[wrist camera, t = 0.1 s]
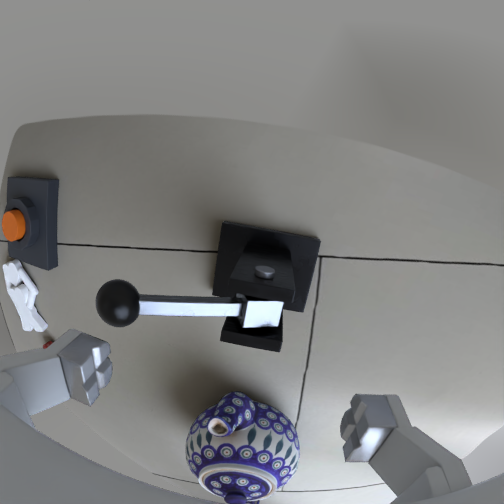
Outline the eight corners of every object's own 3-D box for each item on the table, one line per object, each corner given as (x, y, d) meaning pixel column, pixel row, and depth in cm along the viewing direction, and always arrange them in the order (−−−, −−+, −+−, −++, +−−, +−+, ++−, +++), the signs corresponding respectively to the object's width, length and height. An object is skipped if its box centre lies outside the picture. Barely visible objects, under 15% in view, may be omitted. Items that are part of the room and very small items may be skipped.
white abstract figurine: (26, 256, 34) (17, 261, 32) (55, 324, 38) (48, 331, 36) (0, 263, 35) (-8, 268, 33) (27, 324, 39) (20, 330, 37)
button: (10, 207, 29) (1, 209, 27) (26, 211, 28) (17, 213, 27) (11, 236, 30) (2, 238, 28) (26, 240, 29) (17, 243, 28)
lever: (100, 311, 19) (94, 334, 16) (98, 270, 18) (90, 290, 15) (263, 314, 24) (279, 335, 21) (270, 278, 23) (288, 296, 20)
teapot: (298, 463, 39) (297, 533, 25) (213, 461, 41) (196, 527, 27) (298, 352, 33) (303, 449, 19) (179, 354, 35) (135, 436, 21)
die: (58, 356, 39) (48, 365, 36) (47, 341, 38) (37, 350, 35) (65, 350, 38) (55, 359, 35) (53, 335, 37) (43, 344, 35)
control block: (17, 176, 31) (-1, 178, 27) (59, 179, 31) (38, 181, 27) (17, 252, 34) (0, 259, 31) (58, 266, 34) (40, 275, 30)
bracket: (214, 291, 32) (182, 348, 21) (224, 220, 30) (190, 248, 19) (302, 307, 32) (311, 373, 20) (319, 238, 30) (341, 276, 18)
